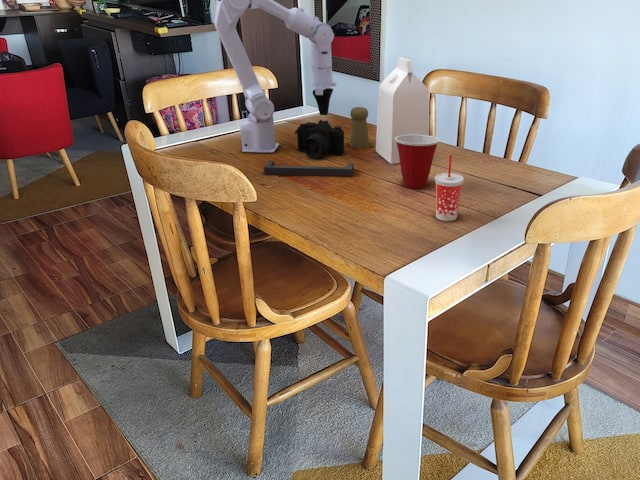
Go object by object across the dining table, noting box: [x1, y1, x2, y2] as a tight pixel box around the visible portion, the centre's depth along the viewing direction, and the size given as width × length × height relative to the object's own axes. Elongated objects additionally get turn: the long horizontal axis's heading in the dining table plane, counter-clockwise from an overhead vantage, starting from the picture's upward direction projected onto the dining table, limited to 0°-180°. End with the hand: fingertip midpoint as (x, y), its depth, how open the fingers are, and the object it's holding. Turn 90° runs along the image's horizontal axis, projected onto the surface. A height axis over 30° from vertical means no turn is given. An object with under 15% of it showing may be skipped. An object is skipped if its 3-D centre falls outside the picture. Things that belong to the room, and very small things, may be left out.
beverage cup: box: [434, 154, 465, 222], centre depth 122 cm, size 6×6×14 cm
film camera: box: [294, 119, 346, 159], centre depth 162 cm, size 15×10×9 cm, turn 70°
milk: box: [375, 56, 430, 165], centre depth 156 cm, size 12×12×26 cm
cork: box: [349, 106, 371, 149], centre depth 169 cm, size 6×6×11 cm
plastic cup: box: [395, 134, 440, 190], centre depth 140 cm, size 11×11×12 cm
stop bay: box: [263, 159, 355, 177], centre depth 151 cm, size 23×6×2 cm, turn 85°
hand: (323, 114), depth 171 cm, fingers closed
